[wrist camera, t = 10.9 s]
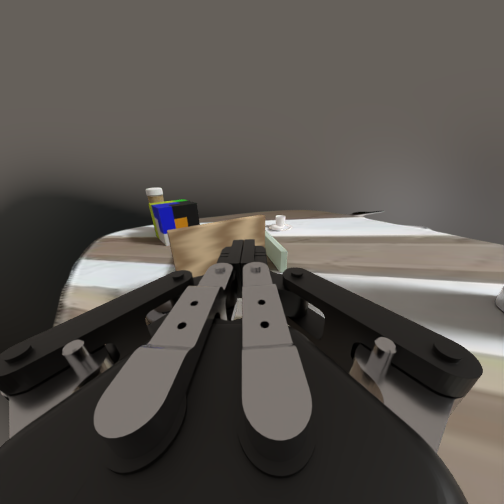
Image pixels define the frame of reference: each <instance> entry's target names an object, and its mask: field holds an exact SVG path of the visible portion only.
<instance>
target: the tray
mask: <svg viewBox="0 0 504 504" xmlns="http://www.w3.org/2000/svg"><path fill="white" fill-rule="evenodd" d="M265 248H266V254H267V256H268V257H269V258H270V260H271V261H272V262H273V264H274V265H275V266H276V268H277V269H278V270H279V271H280V273H281V272H284V271H285V270H286V268H287V250H286V249H285V248H284V247H283V246H282V245H280V244H279V243H278V242H277V241H276V240H275V239H274V238H273V237H272V236H271V235H270V234H269V233H268V232H267V231H266V230H265Z"/></svg>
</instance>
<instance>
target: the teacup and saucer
mask: <svg viewBox="0 0 504 504" xmlns="http://www.w3.org/2000/svg"><path fill="white" fill-rule="evenodd" d="M284 225H285V226H288V227H289V228H288V229H285V230H282V228H283V227H284ZM292 228H293V227H292V226H291V225H288V224H285V216H283V215H278V216H276V224H272V225H270V226H269V229H272V230H276V231H286V230H290V229H292Z"/></svg>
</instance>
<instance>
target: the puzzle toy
mask: <svg viewBox="0 0 504 504" xmlns="http://www.w3.org/2000/svg"><path fill="white" fill-rule="evenodd" d="M149 208H150V211H151V216H152V220H153V224H154V228H155V232H156V236H157V237H158V238H159V239H160V240H161V241H162V242H163V243H164V244H165V245H166V246H168V245H170V243H169V238H168V234H167V230H172V229H178V228H184V227H190V226H196V225H200V224H199V217H198V210H197V203H194V202H190V201H187V200H175V201H166V202H158V203H149Z"/></svg>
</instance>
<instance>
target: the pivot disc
mask: <svg viewBox="0 0 504 504" xmlns="http://www.w3.org/2000/svg"><path fill="white" fill-rule="evenodd" d="M170 311H171V310H170ZM170 311H167V312H156V311H155V310H152V311H150V312H149V313H148V314H147V316H146V317H147V320H148V322H149V323H150V324H151V323H152V322H154V321H156V320H157V319H159V318H161V317H162V316H164V315H165V314H167V313H169V312H170Z"/></svg>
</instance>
